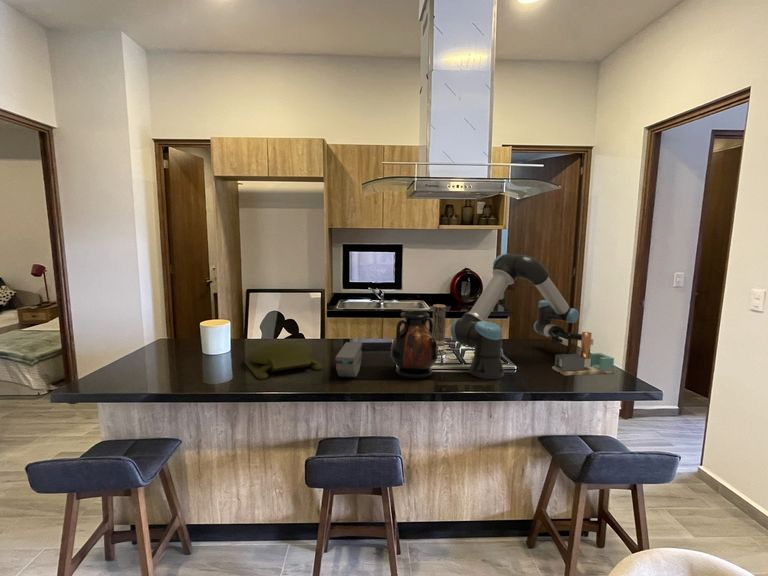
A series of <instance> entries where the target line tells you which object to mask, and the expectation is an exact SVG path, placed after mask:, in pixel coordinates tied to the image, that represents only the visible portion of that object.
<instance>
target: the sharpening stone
mask: <svg viewBox="0 0 768 576" xmlns="http://www.w3.org/2000/svg"><path fill="white" fill-rule="evenodd" d="M362 347H363V342H352V341H350V342H348V341H345V343H344V344H343V346H342V347H341V349H340V350H339V352H337V354H336V356H335V362H336V361H337V362H336V363H335V369H336V372H337V376H338V377H341V378H342V377H344V378H357V376H358V374H359V372H360V370H361V363H362V355H363V354H362V353H363V352H362V351H363V350H362Z"/></svg>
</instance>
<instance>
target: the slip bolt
mask: <svg viewBox="0 0 768 576" xmlns="http://www.w3.org/2000/svg"><path fill="white" fill-rule="evenodd" d="M581 334H582V340H580V341H581V342H580V343H581V344H580V353H579V355H580V356H583V357H585V363H584V367H592V358H590V353H591V346H592V345H591V339H592V332H591V331H590V332H589V331H582V332H581ZM558 366H560V367H562V359H560V358H559V360H558Z"/></svg>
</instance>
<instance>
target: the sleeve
mask: <svg viewBox="0 0 768 576" xmlns="http://www.w3.org/2000/svg"><path fill="white" fill-rule="evenodd" d="M559 358H560V359H562V367H560V366H558V360H559ZM554 360H555V361H554V366H555V368H557V369H559V370H560V371H562V372H565V371H584V363H585V357H583V356H580V354H578V353H567V354H566V353H564V354H563V353H559V354H555V357H554Z"/></svg>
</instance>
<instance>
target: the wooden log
mask: <svg viewBox="0 0 768 576" xmlns="http://www.w3.org/2000/svg"><path fill="white" fill-rule="evenodd" d="M446 308H447V307H446V305H445V304H439V303H437V304H433V305H432V323H433V333H432V334H433V336H434V338H435V340H436V342H437V346H444V347H445V340H446V339H445V338H446V337H445V335H446V333H445V332H446V311H447V310H446Z"/></svg>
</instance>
